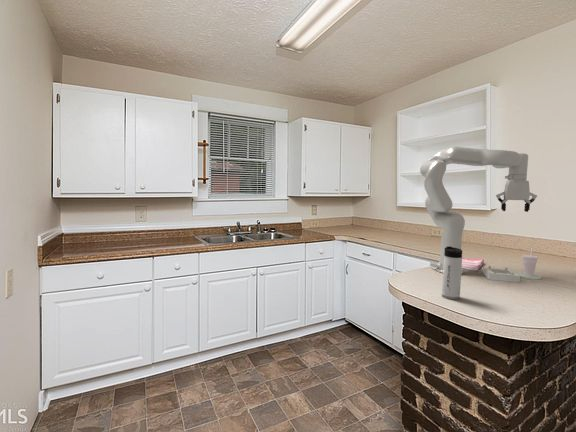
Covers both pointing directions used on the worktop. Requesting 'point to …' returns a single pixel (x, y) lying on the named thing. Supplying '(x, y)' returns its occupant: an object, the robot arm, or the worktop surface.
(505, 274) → the socket block
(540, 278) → the coaster
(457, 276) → the travel mug
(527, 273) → the smoothie
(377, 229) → the worktop surface
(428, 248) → the worktop surface
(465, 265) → the dish towel
